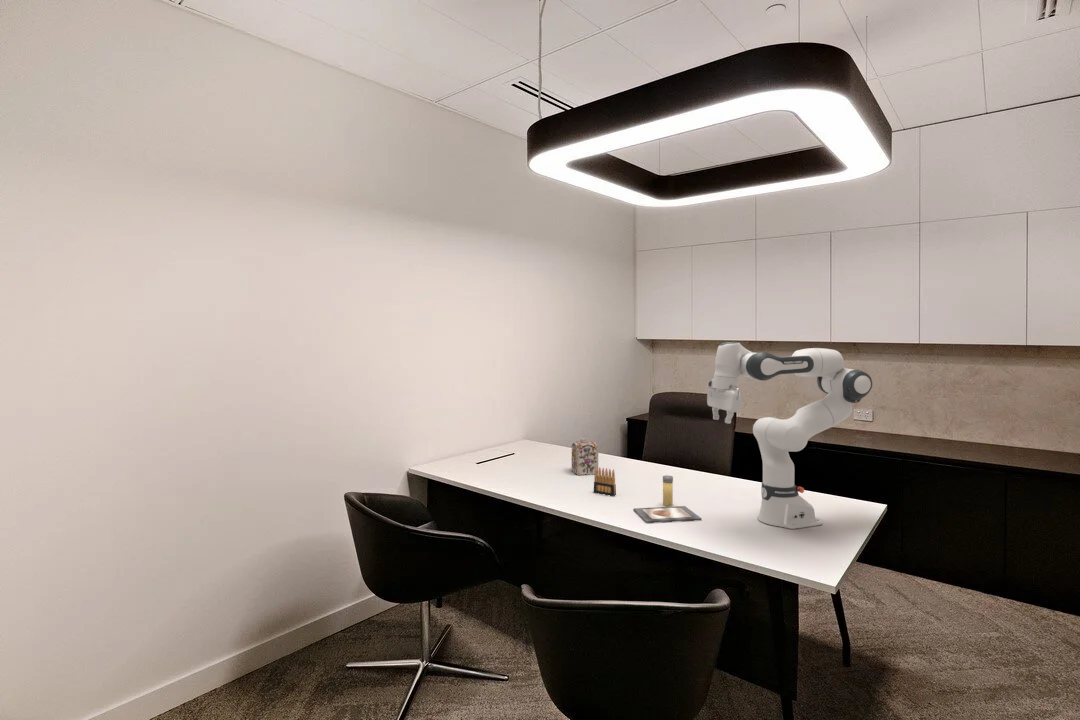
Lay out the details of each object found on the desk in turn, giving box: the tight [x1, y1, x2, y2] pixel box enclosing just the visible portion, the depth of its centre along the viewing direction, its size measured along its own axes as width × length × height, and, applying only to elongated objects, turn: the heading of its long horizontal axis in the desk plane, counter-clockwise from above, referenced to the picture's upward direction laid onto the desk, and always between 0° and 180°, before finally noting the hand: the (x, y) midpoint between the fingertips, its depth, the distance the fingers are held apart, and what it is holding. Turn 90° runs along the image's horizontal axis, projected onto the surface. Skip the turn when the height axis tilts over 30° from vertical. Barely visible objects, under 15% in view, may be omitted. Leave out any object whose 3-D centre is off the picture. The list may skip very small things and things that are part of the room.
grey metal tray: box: [632, 505, 702, 524], centre depth 218 cm, size 22×16×1 cm
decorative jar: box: [571, 437, 599, 476], centre depth 288 cm, size 12×12×18 cm
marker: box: [662, 474, 674, 507], centre depth 231 cm, size 4×4×12 cm
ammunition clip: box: [593, 466, 617, 497], centre depth 248 cm, size 11×2×12 cm, turn 53°
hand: (721, 421), depth 206 cm, fingers open, 8 cm apart
